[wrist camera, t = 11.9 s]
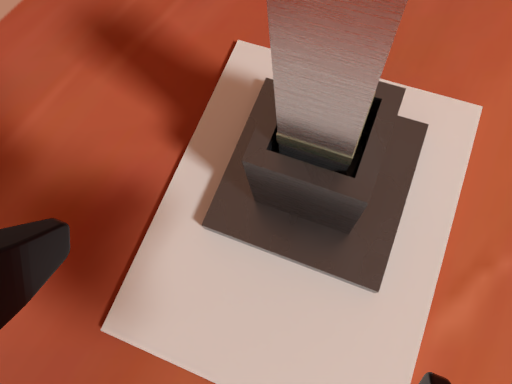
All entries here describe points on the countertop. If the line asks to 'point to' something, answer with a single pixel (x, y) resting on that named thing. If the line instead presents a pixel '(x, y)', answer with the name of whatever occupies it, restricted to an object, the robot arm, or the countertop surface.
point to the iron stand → (321, 193)
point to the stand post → (327, 73)
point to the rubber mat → (287, 263)
